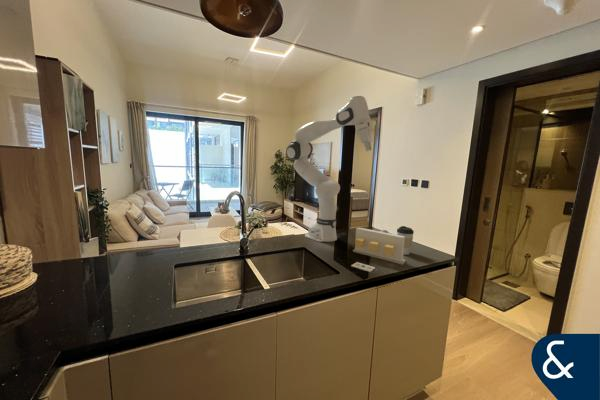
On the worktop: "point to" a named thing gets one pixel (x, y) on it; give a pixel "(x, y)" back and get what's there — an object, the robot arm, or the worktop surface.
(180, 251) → the worktop surface
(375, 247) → the button middle
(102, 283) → the worktop surface
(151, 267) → the worktop surface
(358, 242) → the button left
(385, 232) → the donut
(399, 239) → the button panel
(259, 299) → the worktop surface
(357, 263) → the pattern card
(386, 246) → the button right
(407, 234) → the coffee cup
